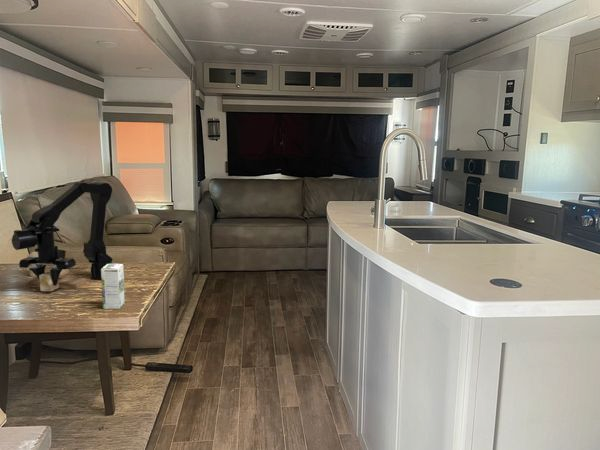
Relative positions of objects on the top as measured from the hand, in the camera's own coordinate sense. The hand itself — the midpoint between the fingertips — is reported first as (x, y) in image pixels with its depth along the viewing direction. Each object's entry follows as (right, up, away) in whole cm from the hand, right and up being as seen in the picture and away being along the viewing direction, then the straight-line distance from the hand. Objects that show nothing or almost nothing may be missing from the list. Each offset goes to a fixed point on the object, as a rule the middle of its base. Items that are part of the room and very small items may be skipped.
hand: (49, 285), depth 168 cm
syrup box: (+30, -6, -13) cm, 33 cm away
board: (-1, -1, +8) cm, 8 cm away
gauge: (0, -1, +4) cm, 4 cm away
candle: (-16, +1, +20) cm, 26 cm away
